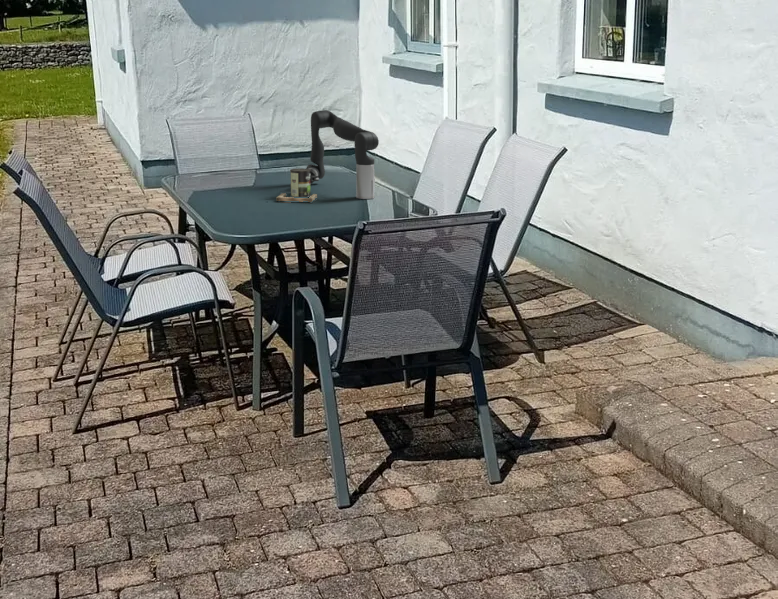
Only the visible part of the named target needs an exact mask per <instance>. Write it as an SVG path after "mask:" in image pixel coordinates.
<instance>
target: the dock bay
mask: <svg viewBox="0 0 778 599" xmlns="http://www.w3.org/2000/svg"><path fill="white" fill-rule="evenodd" d="M275 198H276V201H299V202H303V201H308V202H312V201H313V200H315V198H317V199H318V194H317V193H313V194H310V197H309V198H294V197H291V196H290V197H288V196H287V193H286V192H282V193H281V194H279V195H278V196H276V197H275ZM315 201H316V200H315Z"/></svg>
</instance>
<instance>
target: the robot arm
mask: <svg viewBox="0 0 778 599" xmlns="http://www.w3.org/2000/svg"><path fill="white" fill-rule="evenodd" d="M325 128H332V129H333V130H332V131H333V133H334V134H335V135H336V136H337V137H338V138H340V139H342V140H344V141H348V142H353V143H354V144H353V145H354V156H355V158H354V159H355V163H356V164H355V165H356V166H355V168H356V169H355V178H356V179H355V180H356V181H355V189H356V190H355V192H356V193H355V198H356V199H362V200H370V199H374V198H375V197H376V195H375V194H376V192H375V191H376V190H375V189H376V188H375V187H376V178H375V158H373V157H370V156H369V155H368V154H367V151H373V150H376V149H377V148H378V146H379V142H380V140H379V138H378V136H377V134H376V133H374V132H372V131H369V130H366V129H363V128H361V127H359V126H358V125H355V124H353V123H351V122H349V121H347V120H345V119H343V118H341V117H339V116H337V115H336V114H335V113H334V112H332V111H330V110H327V109H326V110H325V109H324V110H323V109H322V110H316V111H313V112H312V113H311V116H310V134H311V137H310V138H311V150H310V160H309V161H310V162H312V163H313V164H308V165H307V166H306V167H305V169H310V185H311V184H314V182H319V180H322V179H323V178H325V175H326V170H325V169H326V168H325V165H324V156H325V146H324V143H323V141H322V140H321V138H320V129H325Z"/></svg>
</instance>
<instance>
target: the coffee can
mask: <svg viewBox="0 0 778 599" xmlns="http://www.w3.org/2000/svg"><path fill="white" fill-rule="evenodd" d="M289 172H290V197H291V196H292V197H309V196H311V184H310V169H306V168H292V169H289Z"/></svg>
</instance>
